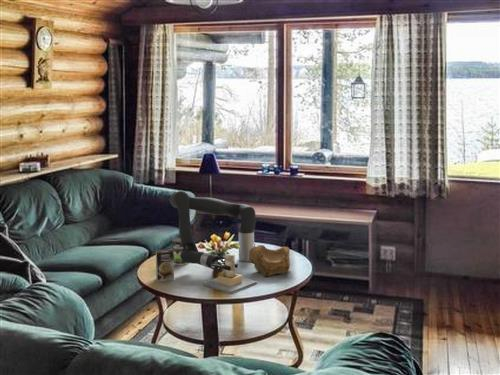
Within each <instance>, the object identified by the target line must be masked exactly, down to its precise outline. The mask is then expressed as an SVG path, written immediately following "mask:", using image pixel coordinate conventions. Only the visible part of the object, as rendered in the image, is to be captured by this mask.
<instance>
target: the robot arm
mask: <svg viewBox="0 0 500 375" xmlns="http://www.w3.org/2000/svg"><path fill="white" fill-rule="evenodd" d="M169 196H170V197H169V200H168V201H169V204H170V205H171V207H173V208H175V209H177V212H178V217H179V218H178V220H179V222H178V233H179V237H180V240H181V244H182V245H187V247H188V249H186V250H183V251H182V252H181V254H180V257H181V259H182V261H184V262H186V263H188V264H197V265H199V266H200V265H201V266H204V267H205V268H208V269H211V270H217V271H223V270H224V271H225V270H228V271H230V270H231V267H230V266H227V265H225V258H223V259H222V258H221V256H220V255H217V254H213V253H209V252H204V251H199V249H198V247H197V244H196V243H195V241H194V237H193V236H194V235H193V231H192V224H191V214H190V210H193V211H196V212H199V213H204V214H208V215H215V216H232V217H235V218H238V219H240V226H239V227H238V246H239V245H240V248H239V247H238V261H240V262H246V263H247V262H248V263H249V262H250V260H249V251H250V250H251V248H253V247H256V243H255V228H256V216H257V215H256V210H255V208H254V207H253V206H250V205H248V204H245V203H232V202H229V201H226V200H222V199H218V198H213V197H206V196H205V197H204V196H203V197H202V196H200V197H199V196H190V195H189V194H188V193H187V192H186V191H183V190H179V191H175V192H174V193H172V194H171V195H169ZM238 268H239V264H238V263H236V262H235V269H238Z"/></svg>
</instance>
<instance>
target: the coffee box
mask: <svg viewBox="0 0 500 375" xmlns="http://www.w3.org/2000/svg"><path fill="white" fill-rule="evenodd" d="M155 271H156V272H155V275H156V276H155V277H156V281H157V282H158V283H160V282H161V283H163V282H164V283H165V282H172V281H175V264H174V252H173V250H172V248H169V249H155Z"/></svg>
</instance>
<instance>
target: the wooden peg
mask: <svg viewBox="0 0 500 375" xmlns="http://www.w3.org/2000/svg"><path fill="white" fill-rule="evenodd" d="M235 258H236V255H235V254H234V253H226V254H225V255H224V260H225V265H227V266H230V267H231V270H230V271H228V270H225V269H224V272H225V273H224V274H225V277H227V278H230V279H231V278H234V277H235V274H236V268H235V263H236V261H235V260H236V259H235Z"/></svg>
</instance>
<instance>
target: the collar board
mask: <svg viewBox="0 0 500 375" xmlns="http://www.w3.org/2000/svg"><path fill="white" fill-rule="evenodd" d="M257 284H258V280H254V279H250V278H248V277H244V276H243V275H242V274H239V273H235V277H234V278H231V279H230V278H227V277H225V273H223V274H221V275H218V276H217V277H216V278H213V279H211V280H208V281H207V280H206V281H205V282H203V284H202V285H203V286H204V287H208V288H211V289H214V290H218V291H221V292H224V293H227V294H231V295H233V294H235V293H238V292H240V291H242V290H244V289H247V288H249V287H252V286H254V285H257Z"/></svg>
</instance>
